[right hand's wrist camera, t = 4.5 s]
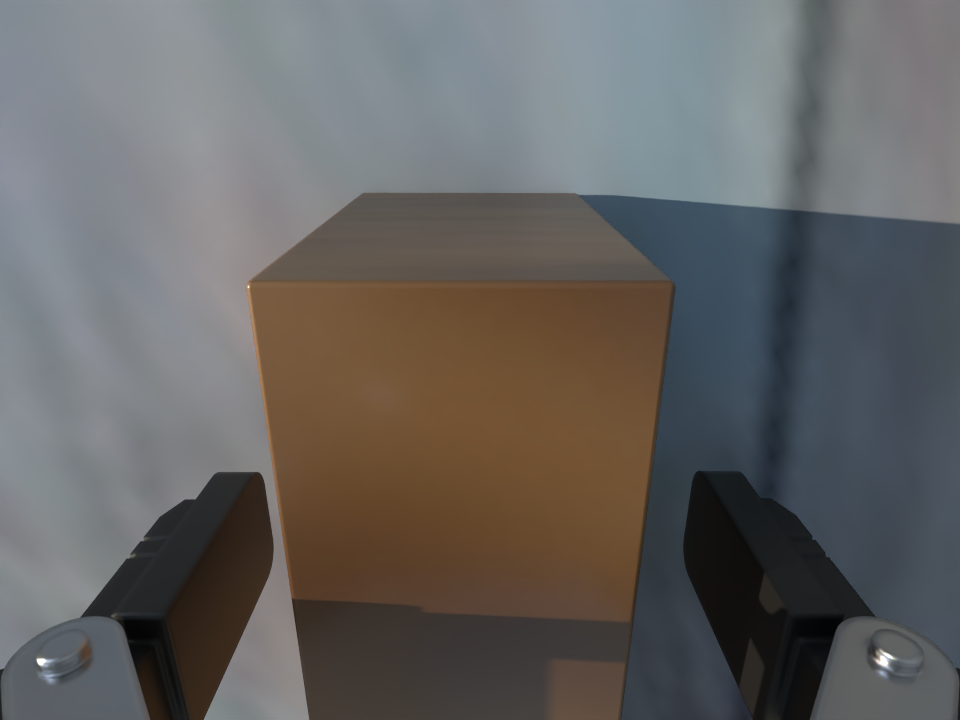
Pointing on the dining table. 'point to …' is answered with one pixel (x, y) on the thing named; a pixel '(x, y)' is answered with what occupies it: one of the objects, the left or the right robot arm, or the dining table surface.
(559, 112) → the dining table surface
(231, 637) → the right robot arm
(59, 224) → the dining table surface
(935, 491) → the dining table surface
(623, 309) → the bar
